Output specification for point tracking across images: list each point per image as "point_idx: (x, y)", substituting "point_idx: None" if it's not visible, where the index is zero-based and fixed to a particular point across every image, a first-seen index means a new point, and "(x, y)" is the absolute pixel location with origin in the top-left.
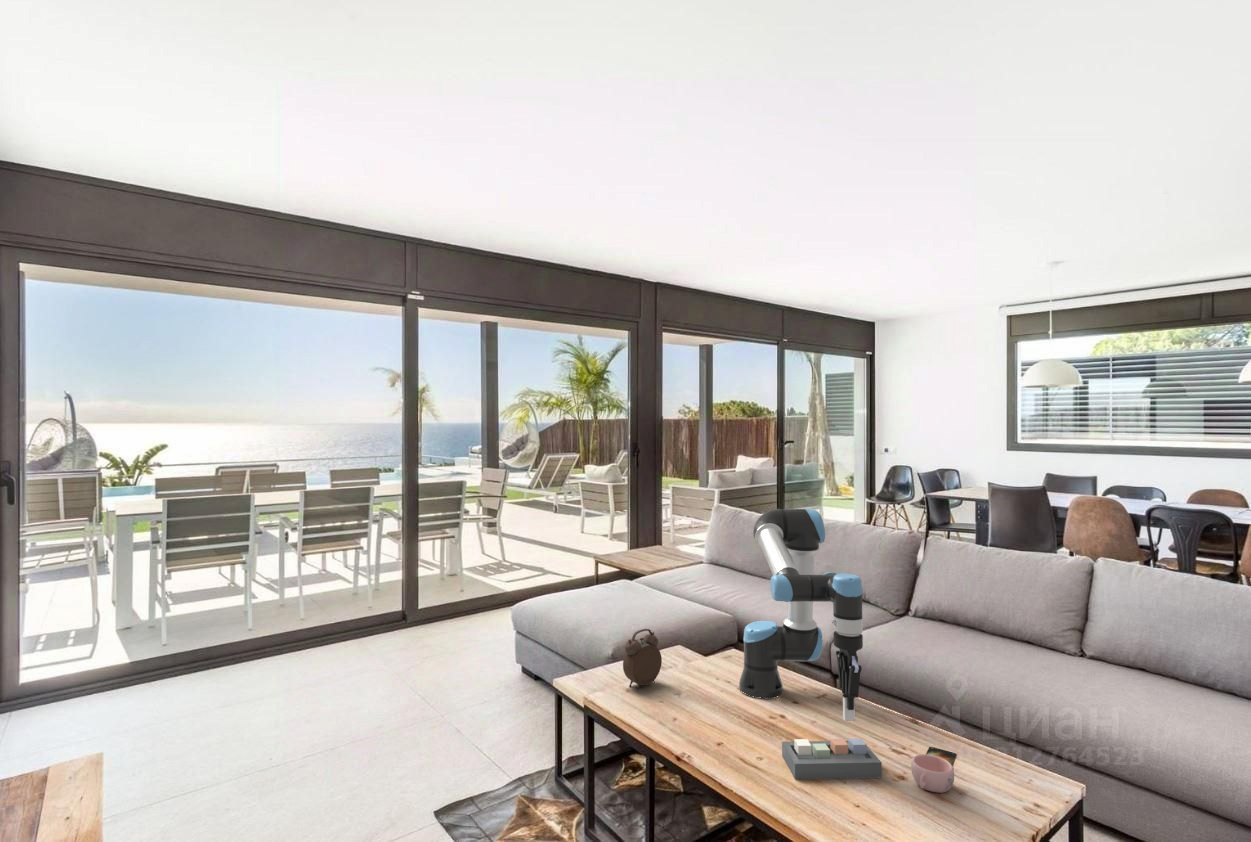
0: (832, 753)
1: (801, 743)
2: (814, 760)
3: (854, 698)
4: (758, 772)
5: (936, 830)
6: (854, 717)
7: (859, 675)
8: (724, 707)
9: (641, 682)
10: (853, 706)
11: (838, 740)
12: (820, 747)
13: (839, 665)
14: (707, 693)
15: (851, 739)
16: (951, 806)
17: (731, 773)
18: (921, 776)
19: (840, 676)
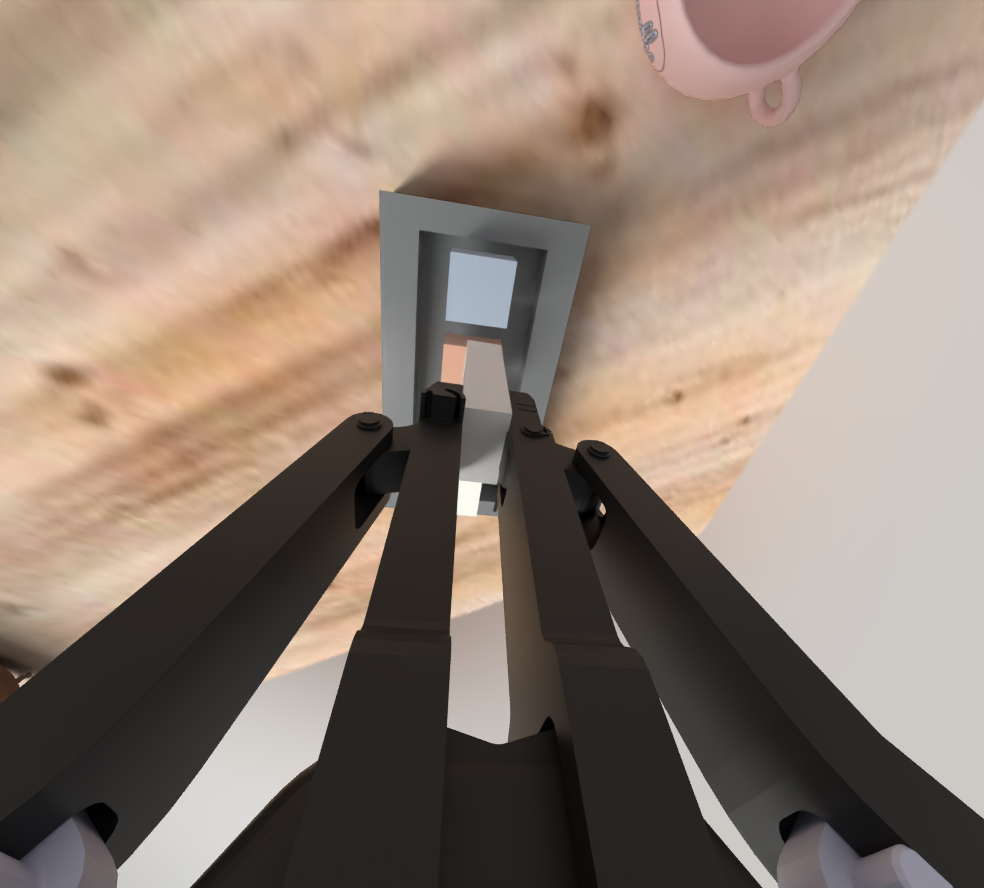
0: (429, 356)
1: (463, 503)
2: None
3: (509, 407)
4: (468, 547)
5: (894, 229)
6: (501, 354)
7: (836, 698)
8: (66, 528)
9: (8, 684)
10: (536, 410)
11: (458, 372)
12: None
13: (245, 702)
14: None
15: (456, 309)
16: (859, 25)
17: (464, 590)
18: (793, 106)
19: (337, 566)
